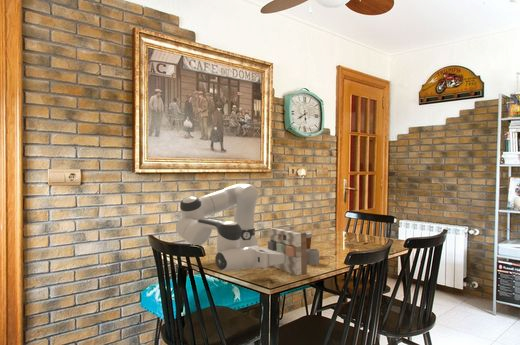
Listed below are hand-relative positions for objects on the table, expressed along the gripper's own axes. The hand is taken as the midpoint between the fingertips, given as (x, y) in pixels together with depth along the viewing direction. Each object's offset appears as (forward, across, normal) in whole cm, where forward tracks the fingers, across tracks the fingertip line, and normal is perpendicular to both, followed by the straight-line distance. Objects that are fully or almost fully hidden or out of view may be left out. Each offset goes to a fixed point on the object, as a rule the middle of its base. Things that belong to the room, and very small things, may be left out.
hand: (281, 253), depth 172 cm
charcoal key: (+5, -16, -2) cm, 16 cm away
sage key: (+5, -8, -2) cm, 10 cm away
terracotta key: (+5, -1, -2) cm, 6 cm away
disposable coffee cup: (+34, -29, -10) cm, 46 cm away
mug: (+24, -11, -10) cm, 28 cm away
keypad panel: (+8, -8, -10) cm, 15 cm away
